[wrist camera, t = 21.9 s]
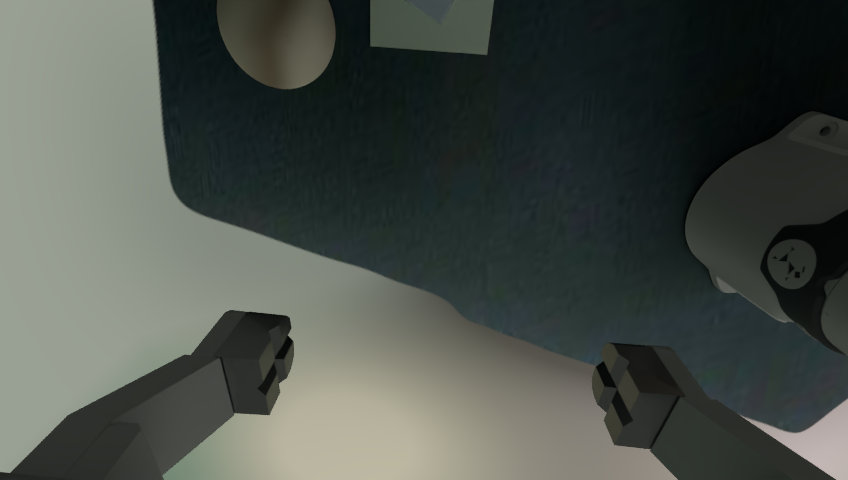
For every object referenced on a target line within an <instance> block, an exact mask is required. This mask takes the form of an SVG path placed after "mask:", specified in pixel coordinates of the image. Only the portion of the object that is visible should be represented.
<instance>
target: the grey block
mask: <svg viewBox="0 0 848 480" xmlns="http://www.w3.org/2000/svg"><path fill="white" fill-rule="evenodd" d="M404 1H406V2H407V3H409V4H410V5H412V6H413V7H415V8H416V9H418V10H419V11H421V12H422V13H423V14H425V15H426V16H428V17H429V18H431V19H432V20H434V21H435V22H437V23H438V24H440V25H442V24H443V22H444V20H445V18H446V16H447V14H448V12H449V10H450V9H451V7H452V5H453V3H454V1H455V0H404Z"/></svg>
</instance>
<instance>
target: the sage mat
mask: <svg viewBox="0 0 848 480" xmlns="http://www.w3.org/2000/svg"><path fill="white" fill-rule="evenodd" d="M493 4H494V0H455V1H454V3H453V5H452V7H451V9H450V10H449V12H448V14H447V16H446V18H445V20H444V22H443V24H442V25H440V24H438V23H437V22H435V21H434V20H432V19H431V18H429V17H428V16H426V15H425V14H423V13H422V12H421V11H419V10H418V9H416V8H415V7H413V6H412V5H410V4H409V3H407V2H406V1H404V0H370V46H375V47H389V48H402V49H416V50H429V51H443V52H456V53H470V54H484V55H487V51H488V43H489V35H490V27H491V20H492V12H493Z"/></svg>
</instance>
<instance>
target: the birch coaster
mask: <svg viewBox="0 0 848 480" xmlns="http://www.w3.org/2000/svg"><path fill="white" fill-rule="evenodd" d="M217 19H218V25H219V29H220V33H221V36H222V39H223V41H224V43H225V45H226V48H227V49H228V51H229V53H230V54H231V56H232V57H233V59H234V60H235V62H236V63H237V64H238V65H239V66H240V67H241V68H242V69H243V70H244V71H245V72H246V73H247V74H248V75H250V76H251V77H252V78H254V79H255V80H257V81H259V82H261V83H263V84H265V85H267V86H271V87H274V88H280V89H293V88H298V87H302V86H305V85H307V84H309V83H311V82H312V81H314V80H315V79H316V78H317V77H319V76H320V75H321V74H322V72H323V71H324V70H325V69H326V67H327V65H328V63H329V62H330V59H331V57H332V54H333V50H334V45H335V33H336V30H335V21H334V16H333V12H332V8H331V5H330V3H329V0H217Z"/></svg>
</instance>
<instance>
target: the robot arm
mask: <svg viewBox="0 0 848 480" xmlns="http://www.w3.org/2000/svg"><path fill="white" fill-rule="evenodd" d="M822 128H824V129H823V131H822V132H821V133H820V131H821V129H822ZM685 235H686V240H687V243H688V246H689V248H690V250H691V252H692V253H693V254H694V256H695V257H696V258H697V259H698V260H699V261H701V262H702V263H703V264H704V265H705V266H706V267H707V268H708V270H709V273H710V276H711V280H712V282H713V284H714V286H715V287H716V288H718V289H719V290H721V291H722V292H725V293H735V292H738V293H739V294H741V295H742V296H743V297H745V298H746V299H748V300H749V301H750V302H752V303H753V304H755V305H756V306H757V307H759V308H760V309H762V310H763V311H764V312H766V313H767V314H769V315H770V316H771V317H773V318H774V319H776V320H778V321H781V322H787V321H789V322H795V323H796V325H798V326H799V327H800V329H801V330H802V331H804V332H805V333H806V334H808V335H809V336H810V337H812V338H813V339H815V340H816V341H817V340H818V341H819V342H820V343H822V344H823V345H825V346H826V347H827V348H829V349H831V350H833V351H835V352H837V353H840V354H843V355H847V356H848V121H846V120H842V119H839V118H836V117H833V116H829V115H826V114H823V113H820V112H815V111H811V112H807V113H805V114H803V115H801V116H799V117H798V118H796V119H795V120H794V121H792V122H791V123H790V124H788V125H787V126H786V127H785V128H784V129H782V130H781V131H780V132H779V133H778V134H777V135H775V136H774V137H772V138H770V139H768V140H767V141H765V142H762V143H760V144H758V145H755V146H753V147H751V148H749V149H747V150H745V151H743V152H741V153H739V154H738V155H736V156H734V157H733V158H731V159H730V160H729V161H727V162H726V163H724V164H723V165H722V166H721V167H719V168H718V169H717V170H716V171H715V172H714V173H713V174H712V175H711V176H710V177H709V178H708V179H707V180H706V181H705V183H704V184H703V185H702V186H701V188H700V189H699V191H698V192H697V194H696V195H695V197H694V199H693V201H692V203H691V205H690V208H689V210H688V214H687V218H686V223H685ZM290 330H291V322H290V318H289V317H288V316H284V315H275V314H265V313H256V312H243V311H234V310H230V311H227V312H225V313H224V314H223V316H222V317H221V318H220V319H219V321H218V322H217V323H216V324H215V326H214V327H213V328H212V329H211V331H210V332H209V333H208V335H207V336H206V337H205V338H204V339H203V340H202V342H201V343H200V344H199V346H198V347H197V348H196V349H195V351H194V352H193V353H192V354H191V355H183V356H181V357H179V358H177V359H175V360H173V361H172V362H170V363H168V364H166V365H164V366H162V367H160V368H158V369H156V370H154V371H152V372H150V373H149V374H147V375H145V376H143V377H141V378H139V379H137V380H135V381H133V382H131V383H129V384H127V385H125V386H124V387H122V388H120V389H118V390H116V391H114V392H112V393H110V394H108V395H106V396H104V397H102V398H100V399H98V400H96V401H95V402H93V403H91V404H89V405H87V406H85V407H83V408H81V409H79V410H78V411H75V412H73V413H71V414H70V415H68V416H67V417H66V418H65V419H64V420H63V421H62V422H61V423H60V424H59V425H58V426H57V427H56V428H55V429H54V430H53V431H52V432H51V433H50V434H49V435H48V436H47V437H46V438H45V439H44V440H43V441H42V442H41V443H40V444H39V445H38V446H37V447H36V448H35V449H34V450H33V451H32V452H31V453H30V454H29V455H28V456H27V457H26V458H25V459H24V460H23V461H22V462H21V463H20V464H19V465H18V466H17V467H16V468H15V469H14V470H13V471H12V472H11V473H4V472H0V480H164V479H163V477H162V475H163V474H164V473H166V472H167V471H168V470H169V469H170V468H172V467H173V466H174V465H175V464H176V463H177V462H179V461H180V460H181V459H182V458H183V457H185V456H186V455H187V454H188V453H189V452H191V451H192V450H193V449H194V448H195V447H197V446H198V445H199V444H200V443H201V442H203V441H204V440H205V439H206V438H207V437H208V436H210V435H211V434H212V433H213V432H214V431H216V430H217V429H218V428H219V427H220V426H222V425H223V424H224V423H225V422H226V421H228V420H229V419H230V418H231V417H232V416H233V415H234V413H242V414H260V415H270V413H271V410H272V408H273V406H274V404H275V402H276V400H277V398H278V395H279V393H280V389H279V383H280V382H282V381H283V380H284V379H286V378H287V376H288V374H289V372H290V369H291V366H292V362H293V357H294V344H293V341H292V339H291V338H290V337H289V336H288V334H289V332H290ZM601 356H602V358H603V360H604V361H603V362H602V363H600V364H599V365H597V366H596V367H595V370H594V373H593V378H592V388H593V393H594V397H595V399H596V402H597V404H598V405H599V406H600V407H601V408H602V409H603V410H604V411H605V412H607V414H606V416H605V419H604V421H605V424H606V426H607V429H608V431H609V433H610V436H611V438H612V441H613V443H614V445H619V446H627V447H637V448H644V449H651V450H650V451H651V452H652V453H653V454H654V455H655V456H656V457H657V459H659V461H660V462H661V463H662V464H663V465H664V466H665V467H666V468H667V469H668V470H669V471H670V472H671V473H672V474H673V475H674V476H675V477H676V478H677V479H678V480H836V479H834V478H833V477H831V476H830V475H828V474H827V473H825V472H824V471H822V470H821V469H819V468H818V467H816V466H815V465H813V464H812V463H810V462H809V461H807V460H806V459H804V458H803V457H801V456H800V455H798V454H797V453H795V452H794V451H792V450H791V449H789V448H788V447H786V446H785V445H783V444H782V443H780V442H779V441H777V440H776V439H774V438H773V437H771V436H770V435H768V434H767V433H765V432H764V431H762V430H761V429H759V428H757V427H756V426H755V425H753V424H751V423H750V422H749V421H747V420H746V419H744V418H743V417H741V416H740V415H738V414H737V413H735V412H734V411H732V410H731V409H729V408H728V407H726V406H725V405H723V404H722V403H720V402H719V401H717V400H712V399H709V398H708V396H707V395H706V393H705V392H704V391H703V389H702V388H701V387H700V385H699V384H698V383H697V381H696V380H695V379H694V377H693V376H692V374H691V373H690V372H689V370H688V369H687V368H686V366H685V365H684V364H683V362H682V361H681V359H680V358H679V357H678V355H677V354H676V353H675V351H674V350H673V349H671V348H670V347H667V346H652V345H647V346H645V345H633V344H620V343H606V344H605V345H604V346H603V349H602V351H601Z"/></svg>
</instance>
